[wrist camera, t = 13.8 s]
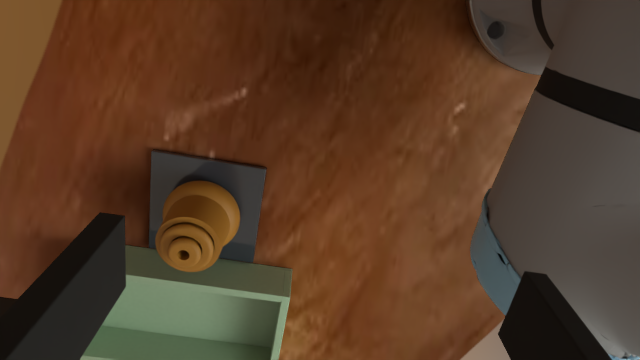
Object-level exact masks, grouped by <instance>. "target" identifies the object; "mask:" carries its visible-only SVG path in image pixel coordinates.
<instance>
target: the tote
mask: <svg viewBox="0 0 640 360" xmlns="http://www.w3.org/2000/svg"><path fill="white" fill-rule="evenodd" d="M125 257H126V287H125V289H124V291H123V292H122V294H121V295H120V297H119V298H118V300H117V302H116V303H115V305H114V306H113V308H112V309H111V311H110V313H109V314H108V316H107V317H106V319H105V321H104V322H103V324H102V325H101V327H100V328H99V330H98V332H97V333H96V335H95V336H94V338H93V340H92V341H91V343H90V344H89V346H88V347H87V349H86V351H85V352H84V354H83V355H82V357H81V358H80V360H278V358H279V353H280V348H281V342H282V337H283V332H284V327H285V321H286V316H287V311H288V306H289V300H290V292H291V279H292V269H288V268H281V267H274V266H267V265H260V264H253V263H247V262H240V261H233V260H226V259H219V258H218V259H217V261H216V262H215V263H214V264H213V265H212V266H210V267H209V268H207V269H205V270H202V271H198V272H185V271H181V270H178V269H175V268H173V267H171V266H170V265H168V264H167V263H166V262H165V261H164V260H163V259H162V258H161V257H160V255H159V254H158V252H157V250H156V249H149V248H142V247H135V246H128V245H125Z"/></svg>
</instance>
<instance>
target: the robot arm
mask: <svg viewBox="0 0 640 360" xmlns="http://www.w3.org/2000/svg"><path fill="white" fill-rule="evenodd" d="M465 1H466V9H467V13H468V18H469V21H470V24H471V27H472V29H473V31H474V33H475V35H476V37H477V39H478V40H479V42H480V43H481V44H482V46H483V47H484V48H485V49H486V50H487V51H488V52H489V53H490V54H491V55H492V56H493V57H494V58H496V59H497V60H499V61H500V62H502V63H504V64H506V65H508V66H510V67H512V68H514V69H516V70H519V71H522V72H526V73H530V74H536V75H541V77H540V80H539V82H538V84H537V87H536V88H535V89H534V92H533V94H532V96H531V99H530V101H529V103H528V105H527V108H526V110H525V112H524V115H523V117H522V119H521V122H520V124H519V126H518V128H517V131H516V133H515V135H514V138H513V140H512V142H511V145H510V147H509V149H508V151H507V154H506V156H505V158H504V161H503V163H502V165H501V168H500V170H499V172H498V174H497V177H496V179H495V181H494V183H493V186H492V188H491V189H489V190H488V191H487V193H486V194H485V197H484V199H483V202H482V212H481V215H480V218H479V220H478V223H477V226H476V229H475V231H474V234H473V237H472V240H471V247H470V253H471V260H472V263H473V266H474V268H475V270H476V272H477V277H478V280H479V282H480V284H481V285H482V287H483V288H484V290H485V291H486V293H487V294H488V296H489V297H490V298H491V300H492V301H493V302H494V303H495V305H496V306H497V307H498V308H499V309H500V310H501V311H502V312H503V313H504V315H506V316H505V319H504V321H503V323H502V326H501V328H500V331H499V333H498V335H499V337H500V339H501V341H502V343H503V345H504V347H505V349H506V351H507V353H508V355H509V357H510V359H511V360H639V359H640V0H465ZM125 287H126V257H125V216H122V215H115V214H108V213H99V214H98V215H97V216H96V217H95V218H94V219H93V220H92V221H91V222H90V223H89V224H88V226H87V227H86V228H85V229H84V230H83V231H82V232H81V233H80V234H79V235H78V236H77V237H76V238H75V239H74V240H73V241H72V242H71V243H70V245H69V246H68V247H67V248H66V249H65V250H64V251H63V252H62V253H61V254H60V255H59V256H58V257H57V258H56V259H55V260H54V261H53V262H52V264H51V265H50V266H49V267H48V268H47V269H46V270H45V271H44V272H43V273H42V274H41V275H40V276H39V277H38V278H37V279H36V280H35V282H34V283H33V284H32V285H31V286H30V287H29V288H28V289H27V290H26V291H25V292H24V293H23V294H22V295H21V296H20V297H19V298H18V299H12V298H4V297H0V360H80V358H81V357H82V355H83V354H84V352H85V351H86V349H87V347H88V346H89V344H90V343H91V341H92V340H93V338H94V336H95V335H96V333H97V332H98V330H99V328H100V327H101V325H102V324H103V322H104V321H105V319H106V317H107V316H108V314H109V313H110V311H111V309H112V308H113V306H114V305H115V303H116V302H117V300H118V298H119V297H120V295H121V294H122V292H123V291H124V289H125Z"/></svg>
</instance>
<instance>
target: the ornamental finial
mask: <svg viewBox="0 0 640 360" xmlns="http://www.w3.org/2000/svg"><path fill="white" fill-rule="evenodd" d="M239 224H240V211H239V208H238V205H237V203H236V201H235V199H234V198H233V196H232V195H231V194H230V193H229V192H228V191H227V190H226V189H224V188H223V187H221V186H219V185H217V184H215V183H212V182H208V181H191V182H187V183H184V184H182V185H180V186H178V187H177V188H176V189H174V190H173V191H172V192H171V193H170V194H169V196H168V197H167V199H166V201H165V203H164V207H163V222H162V224H161V226H160V228H159V230H158V232H157V234H156V238H155V245H156V249H157V252H158V254H159V255H160V257H161V258H162V259H163V260H164V261H165V262H166V263H167V264H168V265H170V266H171V267H173V268H175V269H178V270H181V271H185V272H198V271H202V270H205V269H207V268H209V267H210V266H212V265H213V264H214V263H215V262H216V261H217V259H218V257H219V255H220V252H221V250H222V248H223V246H224V245H226V244H227V243H229V242H230V241H231V240H232V239H233V237H234V236H235V234H236V233H237V230H238V228H239Z"/></svg>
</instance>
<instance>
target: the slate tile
mask: <svg viewBox="0 0 640 360" xmlns="http://www.w3.org/2000/svg"><path fill="white" fill-rule="evenodd" d="M266 170H267V168H266V167H260V166H254V165H248V164H242V163H236V162H229V161H223V160H217V159H211V158H205V157H198V156H192V155H186V154H180V153H174V152H168V151H161V150H155V149H153V150H152V151H151V184H150V219H149V248H154V249H156V245H155V238H156V234H157V232H158V230H159V228H160V226H161V224H162V222H163V207H164V203H165V201H166V199H167V197H168V196H169V194H170V193H171V192H172V191H173V190H174V189H176V188H177V187H178V186H180V185H182V184H184V183H187V182H191V181H208V182H212V183H215V184H217V185H219V186H221V187H223V188H224V189H226V190H227V191H228V192H229V193H230V194H231V195H232V196H233V198H234V199H235V201H236V203H237V205H238V208H239V211H240V224H239V228H238V230H237V233H236V234H235V236H234V237H233V239H232V240H231V241H230V242H229V243H227V244H226V245H224V246H223V248H222V250H221V252H220V255H219V257H218V258H223V259H230V260H237V261H244V262H251V263H253V260H254V254H255V247H256V240H257V233H258V226H259V219H260V212H261V205H262V198H263V191H264V184H265V177H266Z"/></svg>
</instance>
